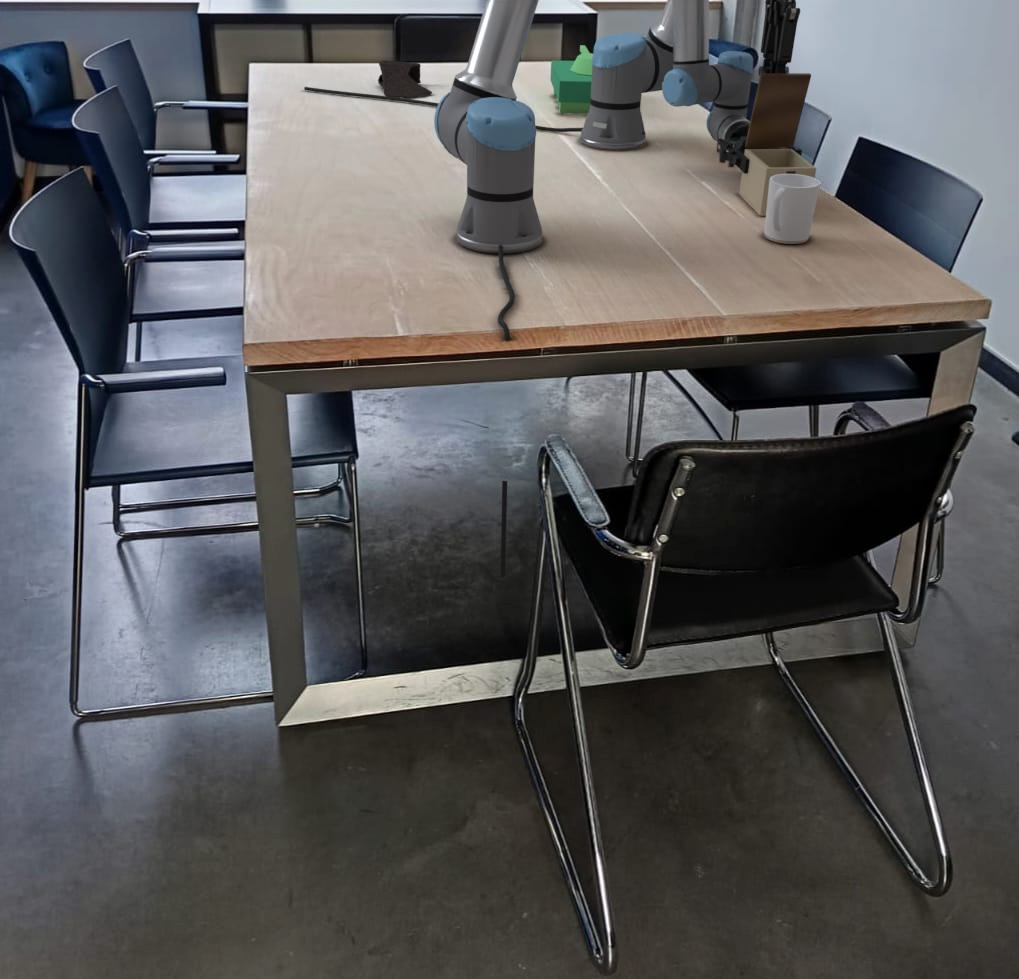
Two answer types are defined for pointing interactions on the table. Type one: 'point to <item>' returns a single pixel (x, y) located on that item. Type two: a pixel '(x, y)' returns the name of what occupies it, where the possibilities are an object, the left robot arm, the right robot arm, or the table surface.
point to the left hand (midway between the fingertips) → (769, 96)
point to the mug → (790, 208)
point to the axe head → (401, 79)
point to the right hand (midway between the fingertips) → (772, 166)
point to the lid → (777, 108)
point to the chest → (769, 173)
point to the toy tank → (573, 83)
